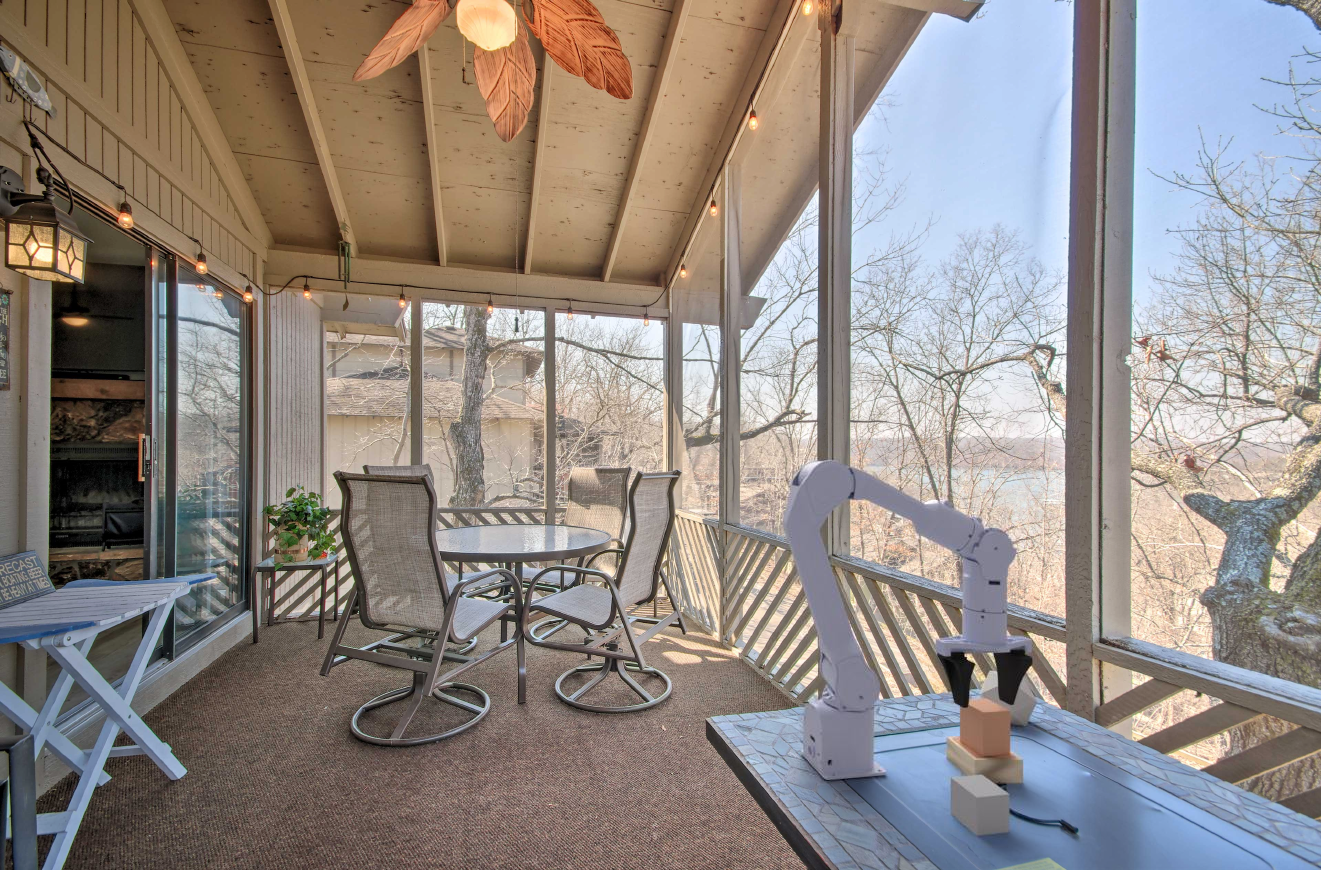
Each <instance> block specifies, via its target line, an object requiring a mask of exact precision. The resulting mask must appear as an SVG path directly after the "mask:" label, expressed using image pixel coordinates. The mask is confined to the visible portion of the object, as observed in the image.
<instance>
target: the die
mask: <svg viewBox="0 0 1321 870" xmlns="http://www.w3.org/2000/svg"><path fill="white" fill-rule="evenodd" d="M985 678H986V679H985V680H984V683H983V684H982V687H981V689H980V692H979V694H978V695H979V696H980V699H983V698H987V699H989V700H991V701H992V702H994V703H996V704H998V705H1000V706H1002V707H1004V708H1006V709H1008V710H1010V725H1015V726H1021V727H1026V726H1027V725H1028V723H1029V720H1030V718H1031V717H1032V714H1033V712H1034V709H1035V707H1036V706H1037V703H1038V701H1037V698H1036V696H1035V694H1034V693H1033V691H1032V689H1031V687H1030V686H1029V684H1028V682H1027V680H1026V678H1025V676H1024V677H1023V679H1022V681H1021V683H1020V686H1019V689H1018V692H1017V695H1016V699H1015V702H1014V705H1009V704H1007V703H1005V702H1003V701H1001V700H1000V699H999V694H998V675H997V670H996V671H995V670H989V671H988V673H987V676H986V677H985Z"/></svg>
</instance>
